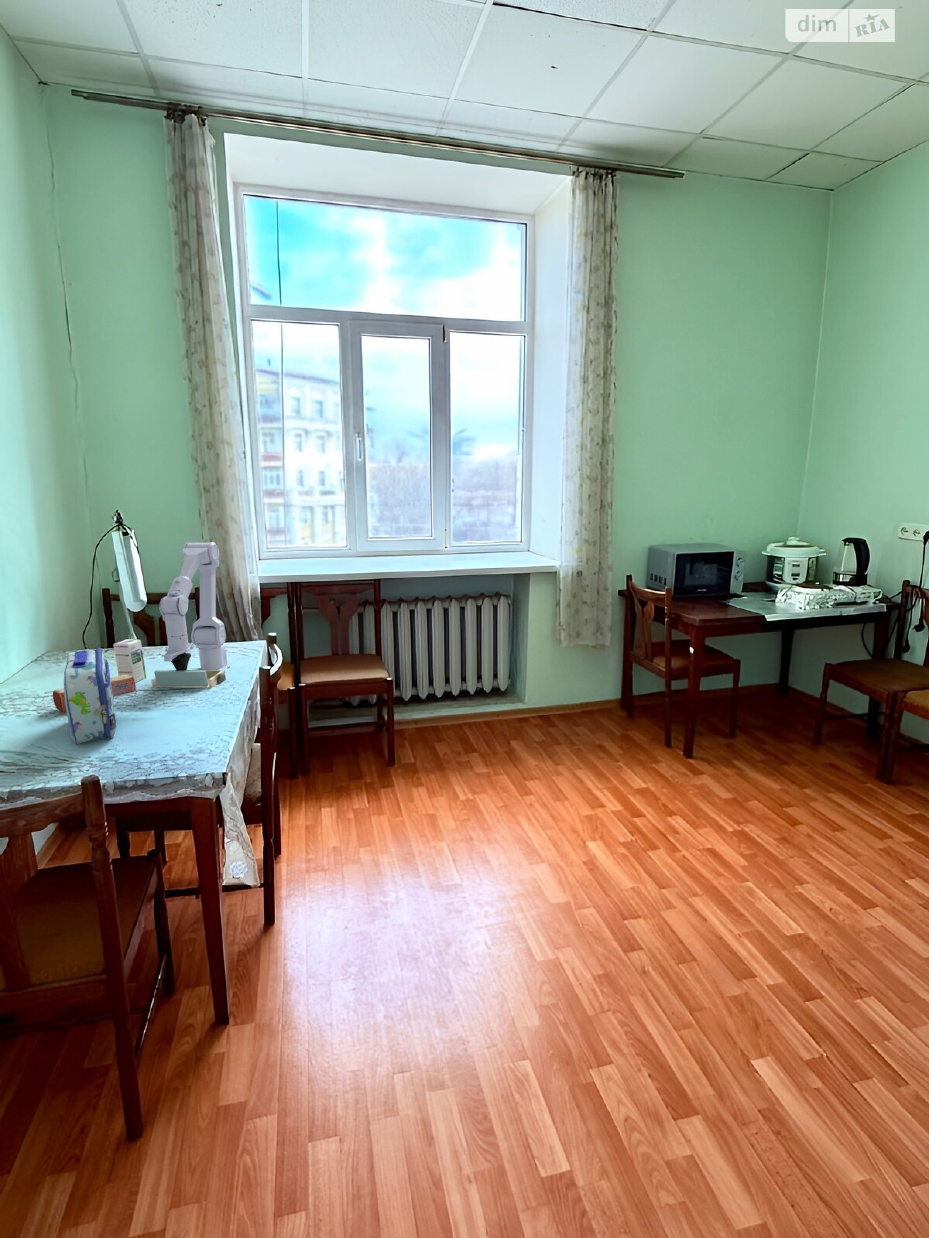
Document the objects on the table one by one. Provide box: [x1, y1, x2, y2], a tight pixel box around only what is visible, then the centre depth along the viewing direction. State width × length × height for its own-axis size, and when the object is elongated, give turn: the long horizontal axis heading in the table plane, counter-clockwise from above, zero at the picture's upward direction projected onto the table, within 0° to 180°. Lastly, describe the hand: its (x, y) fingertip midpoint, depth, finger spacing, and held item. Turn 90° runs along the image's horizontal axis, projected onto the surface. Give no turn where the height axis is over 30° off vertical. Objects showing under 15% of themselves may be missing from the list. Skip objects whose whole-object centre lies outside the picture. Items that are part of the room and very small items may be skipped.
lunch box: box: [63, 647, 117, 744], centre depth 170 cm, size 26×11×21 cm, turn 29°
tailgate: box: [154, 669, 208, 687], centre depth 200 cm, size 1×16×5 cm, turn 87°
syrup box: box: [113, 638, 147, 684], centre depth 207 cm, size 6×6×14 cm
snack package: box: [52, 675, 137, 714], centre depth 193 cm, size 21×7×7 cm, turn 139°
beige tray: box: [151, 669, 227, 689], centre depth 205 cm, size 10×21×4 cm, turn 86°
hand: (182, 677), depth 201 cm, fingers closed, pressing on tailgate
